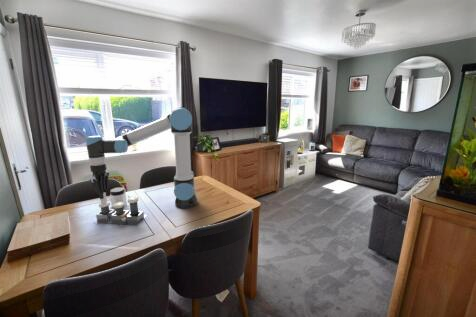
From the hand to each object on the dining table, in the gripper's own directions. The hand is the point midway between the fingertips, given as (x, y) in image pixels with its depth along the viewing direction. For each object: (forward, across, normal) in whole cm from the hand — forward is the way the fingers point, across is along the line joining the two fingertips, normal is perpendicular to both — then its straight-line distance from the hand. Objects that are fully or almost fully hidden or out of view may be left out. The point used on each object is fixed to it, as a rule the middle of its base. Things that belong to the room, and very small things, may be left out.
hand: (104, 203), depth 128 cm
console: (+11, 0, +9) cm, 14 cm away
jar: (+11, -17, -3) cm, 20 cm away
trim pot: (+10, +4, +14) cm, 17 cm away
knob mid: (+10, 0, +9) cm, 13 cm away
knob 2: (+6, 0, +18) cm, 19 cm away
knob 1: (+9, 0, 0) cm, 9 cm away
